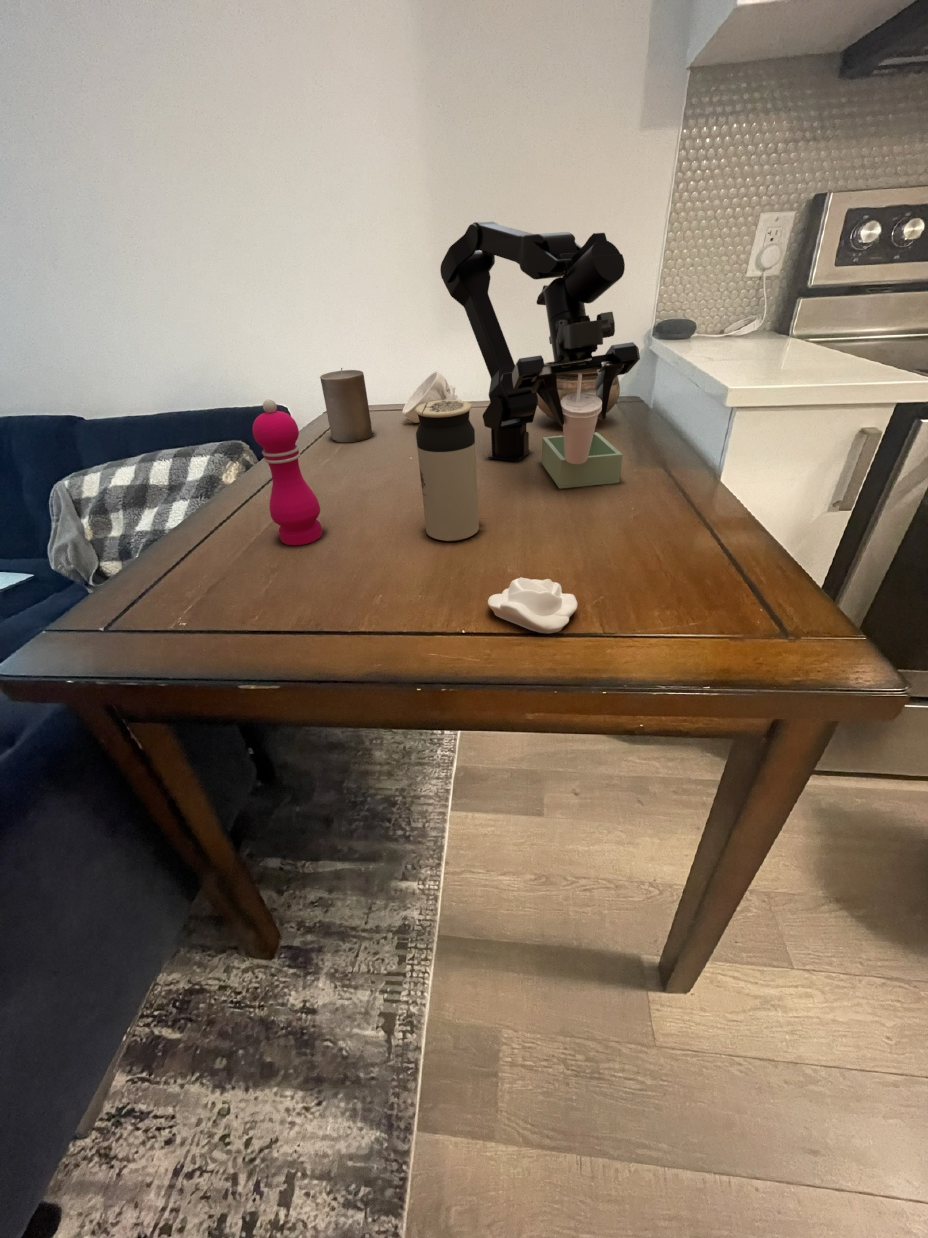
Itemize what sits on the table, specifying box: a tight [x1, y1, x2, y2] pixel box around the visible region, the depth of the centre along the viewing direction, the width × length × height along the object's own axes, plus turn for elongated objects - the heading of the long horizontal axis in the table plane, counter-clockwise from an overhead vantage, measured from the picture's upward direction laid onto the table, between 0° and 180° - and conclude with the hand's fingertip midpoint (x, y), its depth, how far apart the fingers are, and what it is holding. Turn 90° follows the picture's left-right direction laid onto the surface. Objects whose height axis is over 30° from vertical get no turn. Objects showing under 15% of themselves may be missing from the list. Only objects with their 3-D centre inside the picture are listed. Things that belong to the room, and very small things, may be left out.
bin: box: [541, 431, 623, 489], centre depth 98 cm, size 14×11×5 cm
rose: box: [487, 576, 578, 634], centre depth 61 cm, size 10×4×10 cm
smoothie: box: [561, 374, 602, 464], centre depth 85 cm, size 6×6×14 cm
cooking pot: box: [537, 360, 621, 422], centre depth 123 cm, size 25×19×12 cm
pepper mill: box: [252, 398, 323, 546], centre depth 78 cm, size 7×7×20 cm
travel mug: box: [415, 399, 480, 542], centre depth 77 cm, size 8×8×18 cm
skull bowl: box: [401, 370, 463, 424], centre depth 134 cm, size 10×14×12 cm
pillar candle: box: [319, 367, 374, 443], centre depth 123 cm, size 10×10×15 cm
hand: (582, 422), depth 84 cm, fingers closed on smoothie, 6 cm apart
